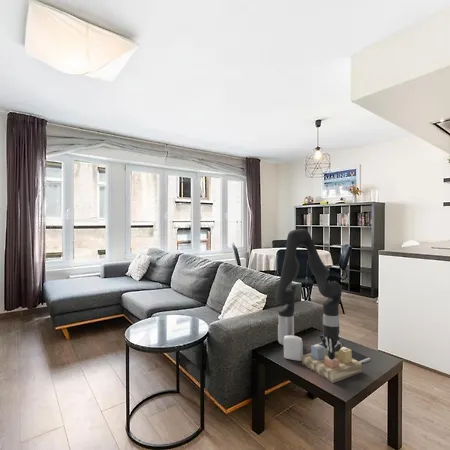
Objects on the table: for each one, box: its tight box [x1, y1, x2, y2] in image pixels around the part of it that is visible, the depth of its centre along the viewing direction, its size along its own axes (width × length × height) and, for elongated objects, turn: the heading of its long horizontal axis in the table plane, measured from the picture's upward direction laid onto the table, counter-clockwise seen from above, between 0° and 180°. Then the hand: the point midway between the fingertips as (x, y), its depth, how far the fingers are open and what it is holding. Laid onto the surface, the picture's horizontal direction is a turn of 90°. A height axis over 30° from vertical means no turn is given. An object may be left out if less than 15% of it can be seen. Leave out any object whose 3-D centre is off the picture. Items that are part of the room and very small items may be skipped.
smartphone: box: [318, 342, 371, 364], centre depth 161 cm, size 13×27×2 cm, turn 28°
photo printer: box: [283, 335, 304, 362], centre depth 155 cm, size 10×4×12 cm, turn 66°
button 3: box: [324, 357, 339, 369], centre depth 138 cm, size 5×5×6 cm
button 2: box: [324, 343, 337, 355], centre depth 151 cm, size 5×5×6 cm
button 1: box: [310, 343, 325, 361], centre depth 146 cm, size 5×5×6 cm
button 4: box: [338, 346, 353, 364], centre depth 143 cm, size 5×5×6 cm
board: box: [301, 352, 363, 384], centre depth 145 cm, size 20×20×4 cm
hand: (331, 358), depth 138 cm, fingers closed
